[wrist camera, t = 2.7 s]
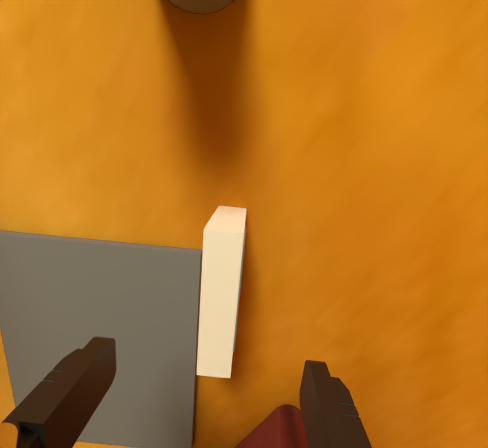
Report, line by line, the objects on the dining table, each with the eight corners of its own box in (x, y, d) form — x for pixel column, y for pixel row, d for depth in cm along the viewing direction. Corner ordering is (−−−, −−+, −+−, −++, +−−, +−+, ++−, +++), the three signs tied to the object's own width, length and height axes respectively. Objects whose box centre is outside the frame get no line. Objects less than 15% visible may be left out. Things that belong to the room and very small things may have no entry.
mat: (-8, 229, 19) (-19, 232, 19) (202, 250, 19) (200, 254, 19) (28, 427, 25) (21, 435, 24) (192, 443, 25) (191, 452, 24)
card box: (219, 205, 18) (203, 229, 13) (248, 208, 18) (246, 233, 13) (211, 313, 21) (196, 374, 15) (237, 316, 21) (231, 378, 15)
